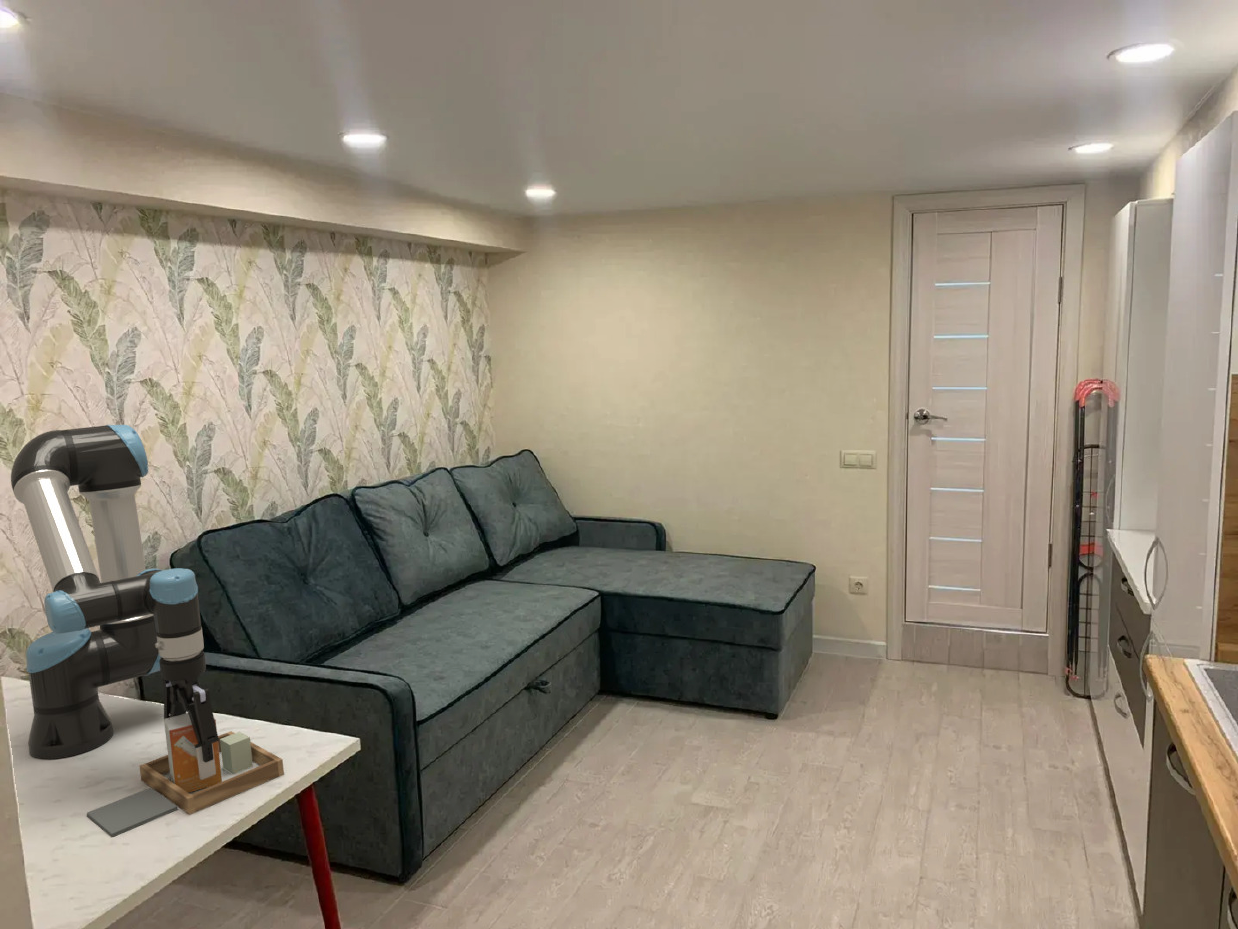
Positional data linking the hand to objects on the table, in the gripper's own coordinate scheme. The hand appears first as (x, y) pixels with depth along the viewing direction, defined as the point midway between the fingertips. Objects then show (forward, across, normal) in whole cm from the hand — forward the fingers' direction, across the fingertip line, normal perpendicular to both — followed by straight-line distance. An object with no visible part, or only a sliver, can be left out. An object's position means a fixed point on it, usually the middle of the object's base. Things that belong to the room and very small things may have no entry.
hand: (195, 768), depth 173 cm
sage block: (+3, 0, +8) cm, 9 cm away
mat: (+3, +1, -12) cm, 12 cm away
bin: (+3, 0, +3) cm, 4 cm away
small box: (+3, 0, 0) cm, 3 cm away
